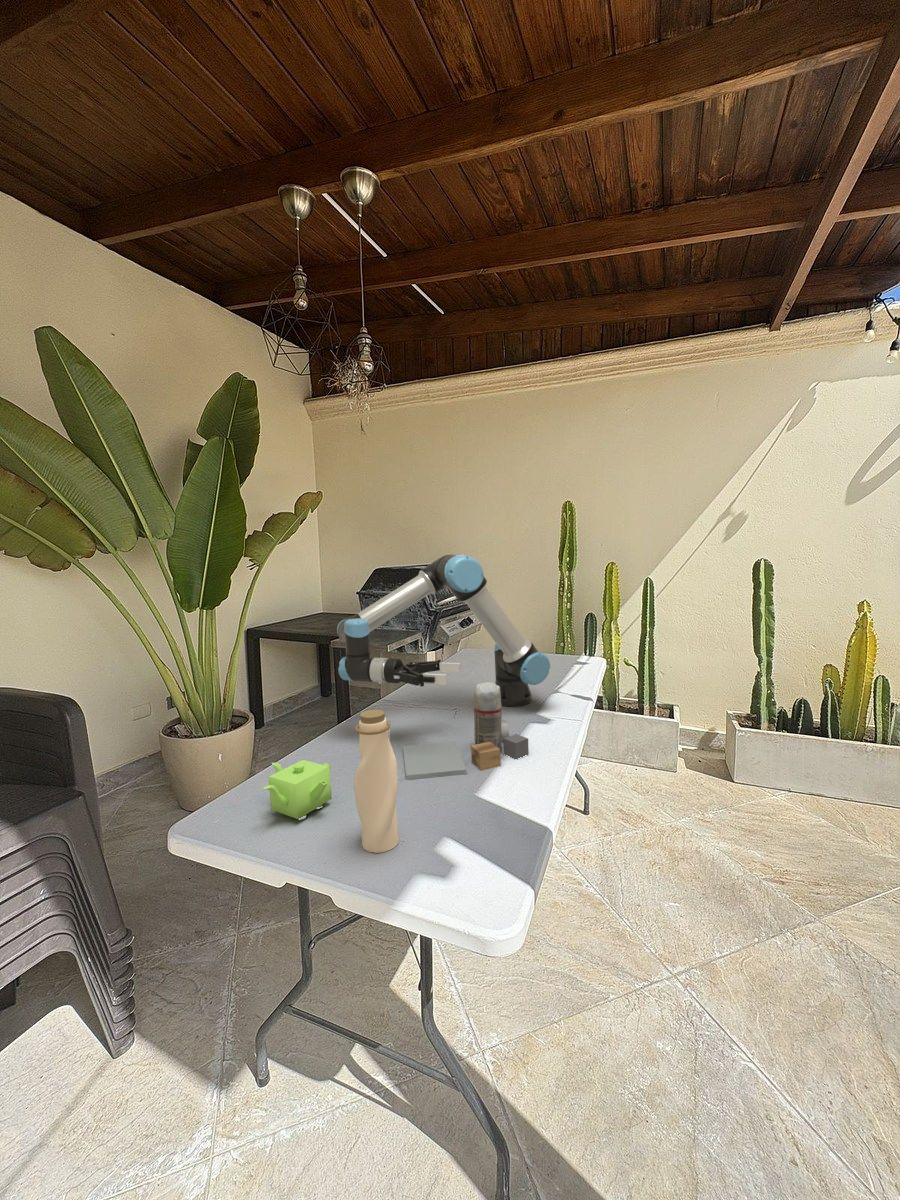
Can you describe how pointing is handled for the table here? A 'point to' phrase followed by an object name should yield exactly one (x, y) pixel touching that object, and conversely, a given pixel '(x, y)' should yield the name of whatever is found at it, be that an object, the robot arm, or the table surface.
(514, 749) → the charcoal rubber cube
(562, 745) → the table surface
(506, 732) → the white rounded cylinder
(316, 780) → the kettle
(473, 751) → the walnut block
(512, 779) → the table surface
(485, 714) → the red-banded paper cylinder
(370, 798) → the water bottle
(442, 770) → the slate board
